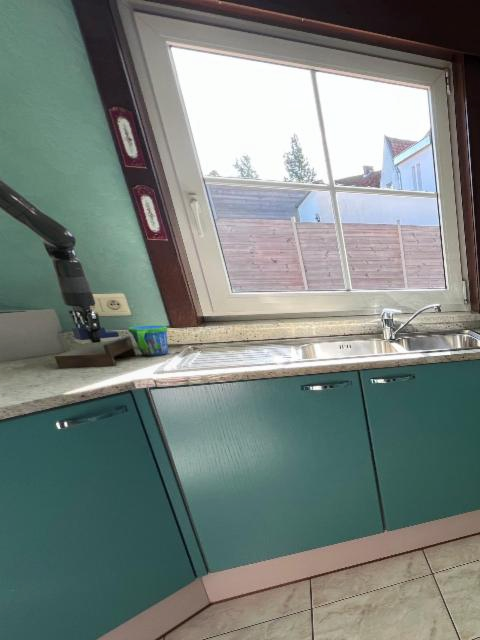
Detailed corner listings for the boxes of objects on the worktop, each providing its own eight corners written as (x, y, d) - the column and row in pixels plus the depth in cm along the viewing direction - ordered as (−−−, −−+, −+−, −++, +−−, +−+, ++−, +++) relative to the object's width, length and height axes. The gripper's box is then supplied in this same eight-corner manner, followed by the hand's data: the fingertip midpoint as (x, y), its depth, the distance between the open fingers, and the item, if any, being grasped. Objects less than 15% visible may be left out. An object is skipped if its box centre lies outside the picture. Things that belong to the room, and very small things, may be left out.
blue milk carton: (82, 343, 168) (77, 329, 166) (75, 342, 169) (70, 328, 168) (122, 340, 177) (118, 326, 175) (115, 338, 179) (111, 325, 177)
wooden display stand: (58, 368, 160) (50, 346, 157) (86, 357, 177) (79, 337, 174) (114, 365, 166) (107, 345, 163) (136, 355, 182) (130, 336, 180)
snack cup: (161, 358, 179) (152, 329, 175) (126, 358, 176) (117, 330, 173) (182, 350, 193) (175, 324, 189) (151, 351, 190) (142, 324, 187)
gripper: (50, 289, 165) (68, 340, 171) (71, 292, 160) (89, 345, 166) (79, 289, 171) (95, 338, 178) (101, 291, 166) (117, 342, 172)
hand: (92, 341), depth 172 cm, fingers closed on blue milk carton, 4 cm apart
